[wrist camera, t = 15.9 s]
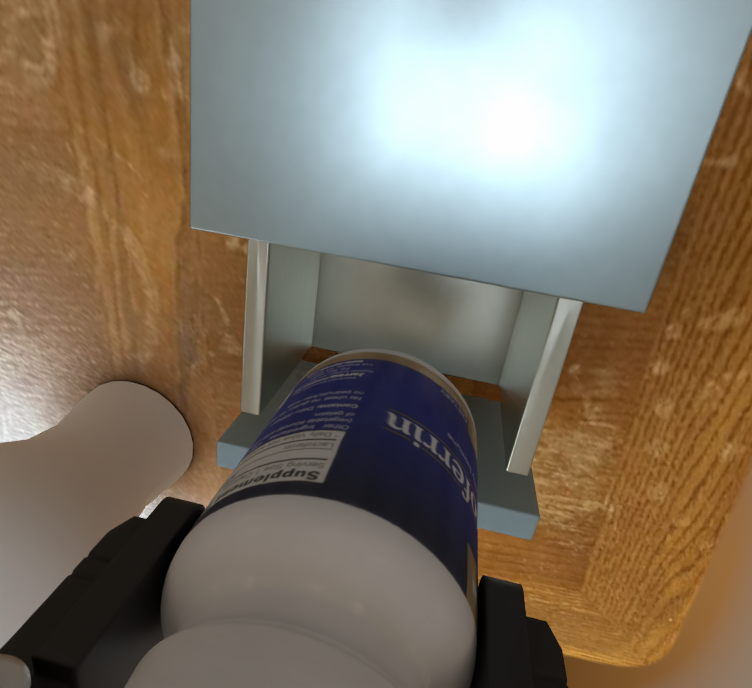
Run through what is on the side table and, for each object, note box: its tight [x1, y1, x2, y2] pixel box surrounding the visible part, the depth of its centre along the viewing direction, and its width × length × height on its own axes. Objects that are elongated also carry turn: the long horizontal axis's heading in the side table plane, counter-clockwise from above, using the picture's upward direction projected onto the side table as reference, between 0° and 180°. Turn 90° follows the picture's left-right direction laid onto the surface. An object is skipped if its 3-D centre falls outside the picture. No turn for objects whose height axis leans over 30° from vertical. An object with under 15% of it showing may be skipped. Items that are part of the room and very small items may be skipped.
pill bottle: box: [124, 349, 478, 688], centre depth 11 cm, size 6×6×10 cm
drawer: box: [217, 239, 584, 540], centre depth 22 cm, size 21×13×8 cm, turn 172°
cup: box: [0, 381, 193, 649], centre depth 26 cm, size 11×11×15 cm
